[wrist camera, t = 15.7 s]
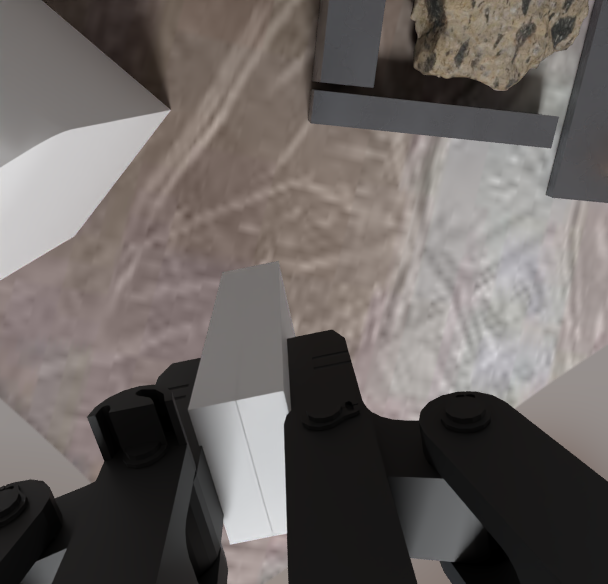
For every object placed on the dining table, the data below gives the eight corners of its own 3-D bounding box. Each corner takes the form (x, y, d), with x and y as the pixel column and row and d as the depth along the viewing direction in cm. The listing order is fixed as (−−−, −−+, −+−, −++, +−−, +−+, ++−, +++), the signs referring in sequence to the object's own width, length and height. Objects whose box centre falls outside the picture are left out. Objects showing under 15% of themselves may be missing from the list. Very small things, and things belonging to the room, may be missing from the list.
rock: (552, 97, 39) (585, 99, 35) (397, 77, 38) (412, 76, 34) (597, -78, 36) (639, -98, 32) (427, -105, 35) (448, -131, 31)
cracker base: (337, -174, 33) (354, -236, 26) (865, -94, 36) (997, -132, 29) (302, 171, 40) (308, 189, 33) (747, 214, 43) (832, 238, 36)
